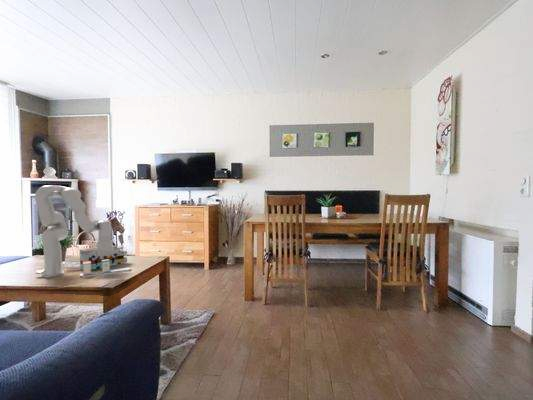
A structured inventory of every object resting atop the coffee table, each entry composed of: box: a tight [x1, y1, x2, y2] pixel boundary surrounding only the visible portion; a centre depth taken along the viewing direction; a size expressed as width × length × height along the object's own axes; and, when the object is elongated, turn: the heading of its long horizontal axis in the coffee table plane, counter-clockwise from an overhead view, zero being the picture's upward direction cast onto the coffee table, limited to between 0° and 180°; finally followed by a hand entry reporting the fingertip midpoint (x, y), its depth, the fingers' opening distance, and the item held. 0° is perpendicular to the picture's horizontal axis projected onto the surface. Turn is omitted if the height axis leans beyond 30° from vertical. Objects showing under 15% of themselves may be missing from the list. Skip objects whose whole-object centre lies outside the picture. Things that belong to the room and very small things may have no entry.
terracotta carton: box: [82, 261, 92, 275], centre depth 200 cm, size 4×7×8 cm
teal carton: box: [101, 259, 111, 273], centre depth 206 cm, size 4×7×8 cm, turn 32°
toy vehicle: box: [79, 245, 128, 271], centre depth 223 cm, size 8×30×15 cm, turn 143°
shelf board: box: [79, 267, 132, 278], centre depth 206 cm, size 30×11×2 cm, turn 122°
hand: (104, 264), depth 206 cm, fingers open, 9 cm apart
